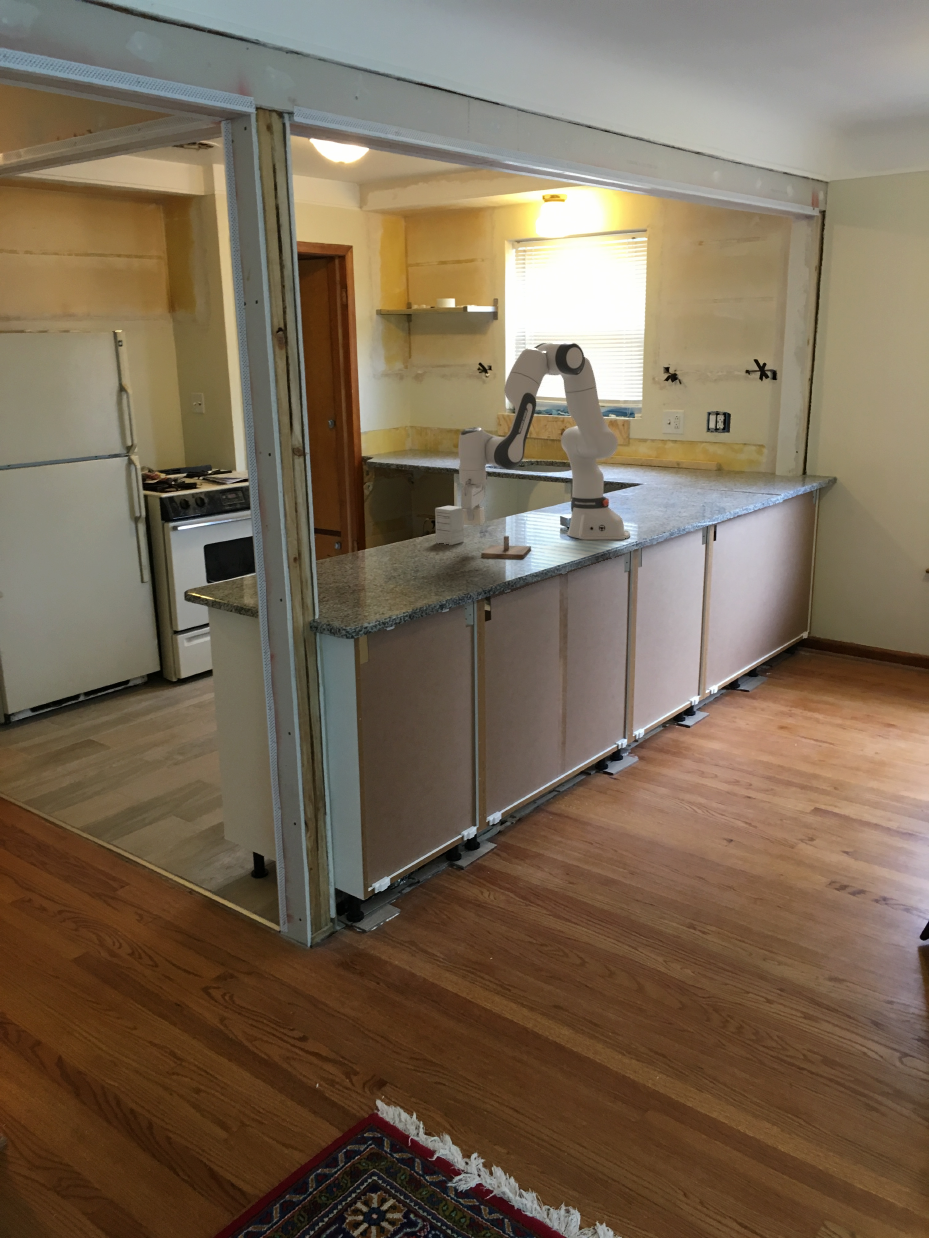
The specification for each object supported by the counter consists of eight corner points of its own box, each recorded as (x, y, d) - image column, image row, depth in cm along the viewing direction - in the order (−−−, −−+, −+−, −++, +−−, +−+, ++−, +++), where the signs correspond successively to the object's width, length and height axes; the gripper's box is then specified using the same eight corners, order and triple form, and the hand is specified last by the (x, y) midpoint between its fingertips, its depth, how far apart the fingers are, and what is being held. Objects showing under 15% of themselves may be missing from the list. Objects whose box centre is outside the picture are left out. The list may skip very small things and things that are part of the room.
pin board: (530, 550, 338) (530, 533, 336) (522, 559, 325) (522, 541, 323) (490, 549, 341) (490, 531, 340) (481, 557, 328) (481, 539, 327)
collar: (484, 521, 337) (484, 507, 336) (480, 525, 332) (480, 510, 331) (467, 521, 339) (467, 507, 338) (463, 524, 333) (462, 510, 332)
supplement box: (448, 539, 359) (447, 505, 355) (464, 542, 354) (463, 507, 351) (435, 543, 353) (434, 507, 350) (451, 545, 349) (450, 509, 345)
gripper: (474, 482, 321) (475, 524, 325) (488, 473, 340) (489, 513, 344) (455, 482, 322) (456, 524, 326) (470, 473, 341) (471, 513, 345)
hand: (473, 518), depth 335 cm, fingers closed on collar, 6 cm apart
